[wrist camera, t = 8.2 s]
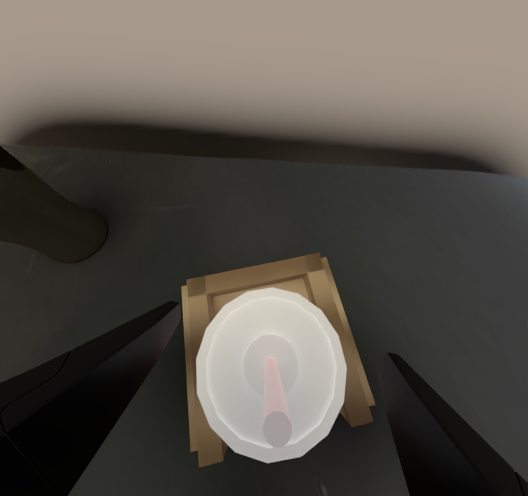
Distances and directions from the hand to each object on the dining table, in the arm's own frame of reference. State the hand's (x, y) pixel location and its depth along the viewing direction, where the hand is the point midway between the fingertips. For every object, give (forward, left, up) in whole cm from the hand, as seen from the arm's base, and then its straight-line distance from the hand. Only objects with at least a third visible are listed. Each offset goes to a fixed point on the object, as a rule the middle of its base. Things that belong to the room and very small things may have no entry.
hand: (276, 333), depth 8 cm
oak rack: (-1, 0, -10) cm, 10 cm away
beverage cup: (-1, 0, -9) cm, 9 cm away
